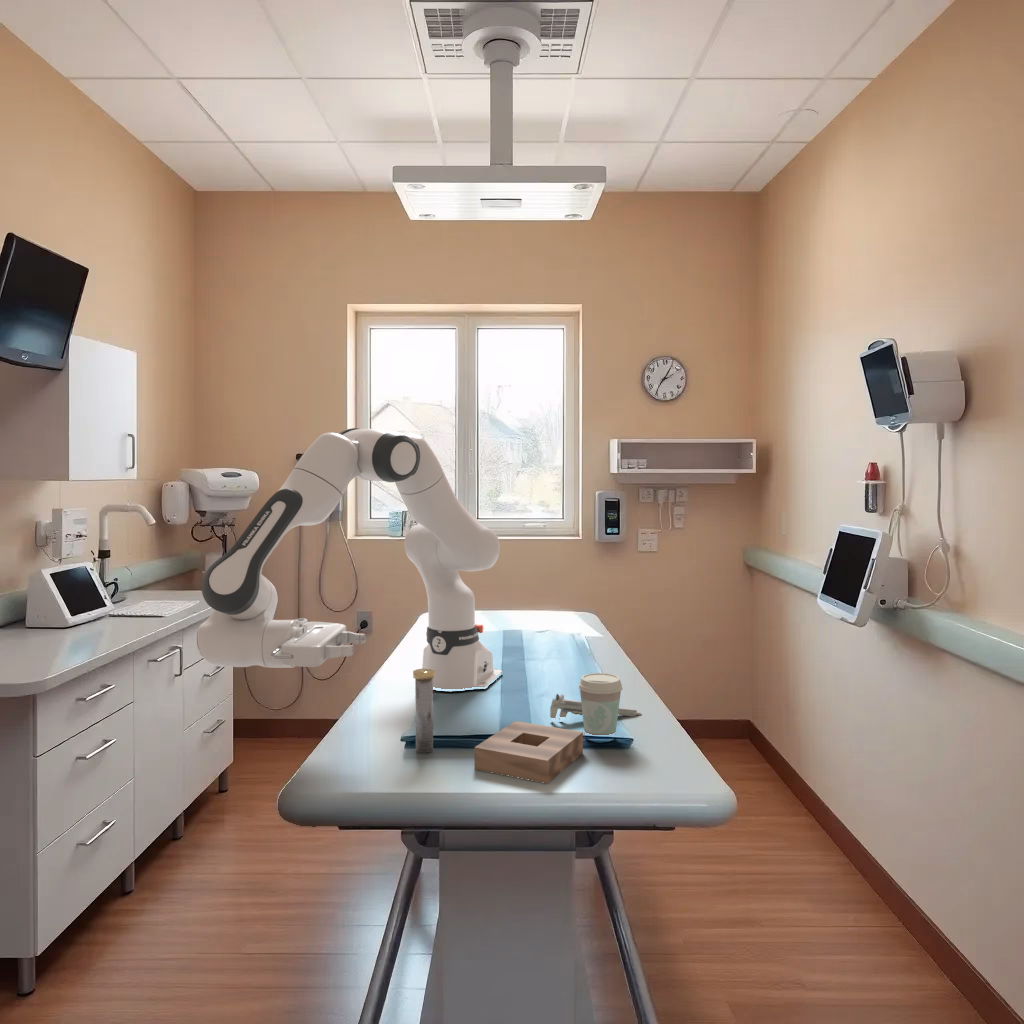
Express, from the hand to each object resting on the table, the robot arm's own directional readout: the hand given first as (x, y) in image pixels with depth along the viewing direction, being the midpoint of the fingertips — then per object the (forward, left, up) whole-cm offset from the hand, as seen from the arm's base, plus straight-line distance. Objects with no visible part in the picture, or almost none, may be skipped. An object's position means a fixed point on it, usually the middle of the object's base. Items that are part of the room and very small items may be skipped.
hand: (358, 644), depth 152 cm
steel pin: (-5, +11, -20) cm, 23 cm away
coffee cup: (-26, +38, -20) cm, 50 cm away
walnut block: (-9, +31, -20) cm, 38 cm away
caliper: (-37, +33, -20) cm, 54 cm away
